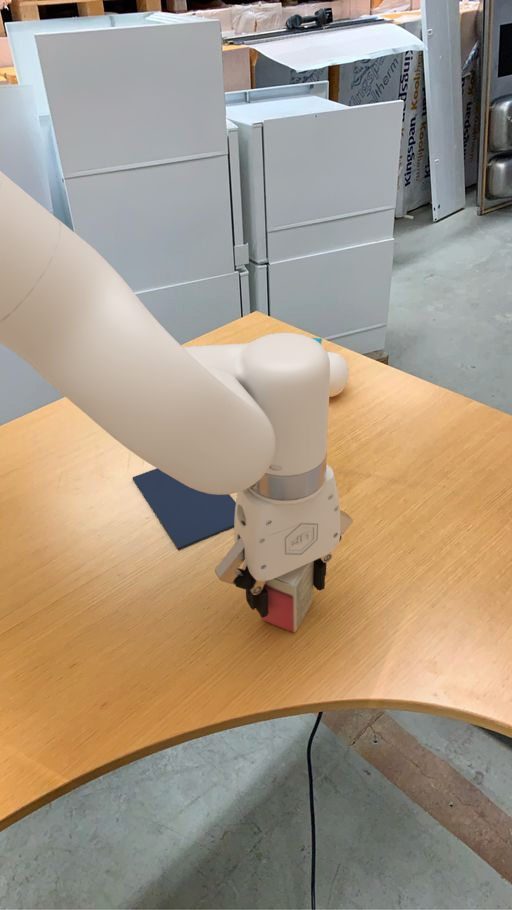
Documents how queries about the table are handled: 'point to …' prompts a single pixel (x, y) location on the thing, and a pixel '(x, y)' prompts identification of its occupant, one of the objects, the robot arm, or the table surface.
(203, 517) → the cloth
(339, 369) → the white rounded piece
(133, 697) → the table surface
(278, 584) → the small box
